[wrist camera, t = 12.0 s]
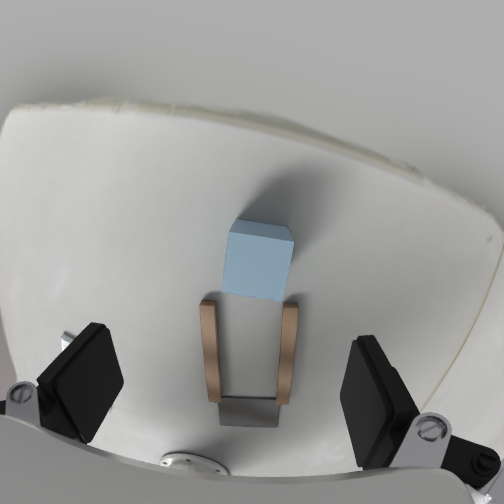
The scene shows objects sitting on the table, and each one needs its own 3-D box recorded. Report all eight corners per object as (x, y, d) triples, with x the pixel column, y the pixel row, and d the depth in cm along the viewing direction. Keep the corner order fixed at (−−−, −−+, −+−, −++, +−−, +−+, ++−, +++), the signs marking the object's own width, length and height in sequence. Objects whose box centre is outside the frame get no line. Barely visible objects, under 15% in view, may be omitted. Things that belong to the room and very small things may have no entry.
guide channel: (284, 425, 35) (284, 431, 34) (213, 423, 35) (212, 428, 34) (297, 302, 29) (298, 307, 28) (201, 300, 30) (199, 305, 28)
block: (279, 275, 29) (282, 301, 23) (229, 267, 29) (221, 292, 23) (288, 226, 27) (294, 242, 21) (236, 218, 27) (228, 231, 21)
